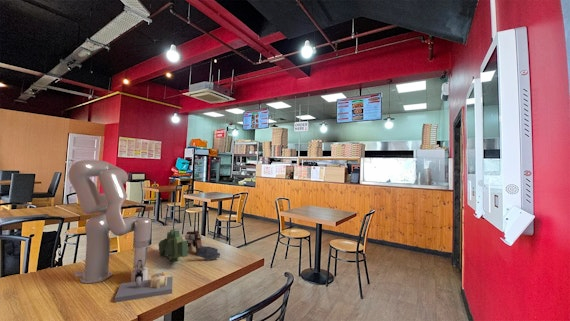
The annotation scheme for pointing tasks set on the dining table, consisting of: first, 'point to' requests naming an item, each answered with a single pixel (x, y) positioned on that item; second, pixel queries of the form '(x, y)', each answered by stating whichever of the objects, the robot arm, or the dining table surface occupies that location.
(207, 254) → the stone
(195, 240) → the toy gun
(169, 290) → the gear board
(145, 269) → the loose gear
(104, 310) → the dining table surface
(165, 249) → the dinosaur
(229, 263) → the dining table surface
